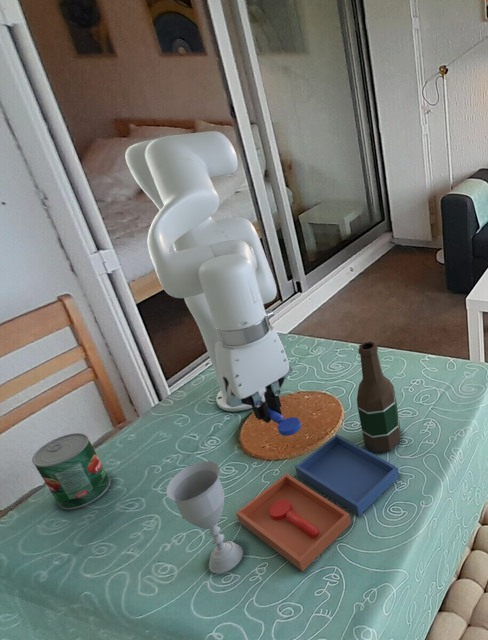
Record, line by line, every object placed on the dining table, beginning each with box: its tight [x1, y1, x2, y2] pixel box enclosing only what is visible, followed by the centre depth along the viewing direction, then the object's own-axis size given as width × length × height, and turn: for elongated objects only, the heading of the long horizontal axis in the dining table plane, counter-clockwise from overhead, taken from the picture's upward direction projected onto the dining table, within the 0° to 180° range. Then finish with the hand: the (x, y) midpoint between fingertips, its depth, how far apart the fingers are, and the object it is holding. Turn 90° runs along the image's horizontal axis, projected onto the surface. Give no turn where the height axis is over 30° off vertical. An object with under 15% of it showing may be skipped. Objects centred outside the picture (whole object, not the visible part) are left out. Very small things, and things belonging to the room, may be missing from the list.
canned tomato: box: [31, 432, 111, 510], centre depth 92 cm, size 8×8×11 cm
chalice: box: [166, 460, 244, 575], centre depth 78 cm, size 7×7×18 cm
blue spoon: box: [267, 407, 302, 437], centre depth 89 cm, size 12×4×2 cm, turn 56°
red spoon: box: [269, 499, 319, 538], centre depth 87 cm, size 12×4×2 cm, turn 58°
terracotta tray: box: [235, 473, 352, 572], centre depth 87 cm, size 17×10×2 cm, turn 58°
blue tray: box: [294, 433, 400, 517], centre depth 96 cm, size 17×10×2 cm, turn 58°
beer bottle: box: [356, 341, 401, 454], centre depth 100 cm, size 8×8×24 cm
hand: (269, 415), depth 90 cm, fingers closed on blue spoon, 1 cm apart
